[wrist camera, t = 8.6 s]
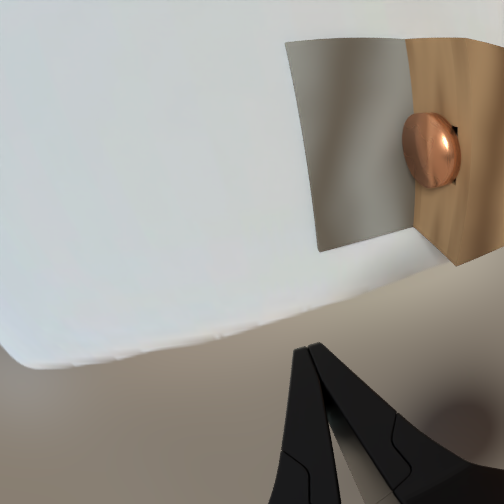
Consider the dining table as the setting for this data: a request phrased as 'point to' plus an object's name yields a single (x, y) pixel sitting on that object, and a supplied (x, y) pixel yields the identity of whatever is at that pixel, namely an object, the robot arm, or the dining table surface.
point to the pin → (431, 149)
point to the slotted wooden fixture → (390, 138)
